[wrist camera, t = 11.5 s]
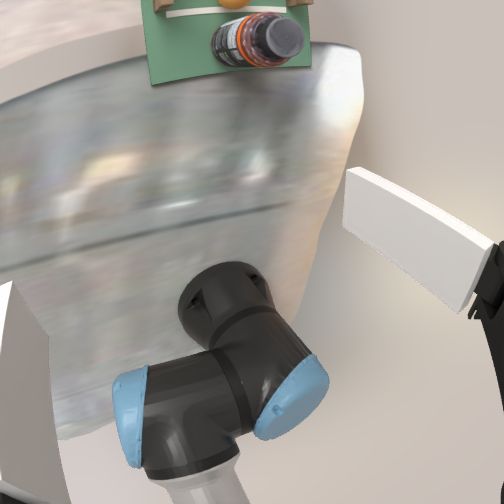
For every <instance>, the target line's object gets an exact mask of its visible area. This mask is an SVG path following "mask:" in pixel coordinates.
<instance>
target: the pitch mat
mask: <svg viewBox="0 0 504 504" xmlns="http://www.w3.org/2000/svg"><path fill="white" fill-rule="evenodd" d="M141 7H142V17H143V26H144V35H145V42H146V51H147V59H148V66H149V73H150V80H151V85H154V84H159V83H163V82H168V81H173V80H178V79H184V78H189V77H195V76H201V75H208V74H214V73H222V72H230V71H238V70H248V69H259V68H272V67H229V66H226V65H224V64H222V63H220V62H219V61H218V60H217V59H216V57H215V56H214V54H213V52H212V49H211V40H212V36H213V34H214V32H215V31H216V30H217V29H218V28H219V27H220V26H221V25H223V24H225V23H227V22H229V21H233V20H236V19H239V18H242V17H245V16H248V15H252V14H256V13H260V12H268V11H269V12H275V13H278V14H280V15H282V16H284V17H288V18H291V19H293V20H295V21H296V22H298V23H299V24H300V26H301V27H302V29H303V31H304V34H305V43H304V47H303V49H302V50H301V52H300V53H299V54H298V55H296V56H294V57H292V58H290V60H288V61H287V62H286V63H284V64H282V65H280V66H277V67H290V66H311V50H310V32H309V16H308V5H304V6H299V7H286V0H251V1H250V2H249V4H247V5H246V6H245V7H243V8H240V9H228V8H225V7H223V6H222V5H220V4H219V2H218V1H217V0H174V4H173V5H171V6H170V7H169V8H168V9H167V10H165V11H161V12H155V13H154V8H153V0H141Z"/></svg>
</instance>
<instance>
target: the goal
mask: <svg viewBox="0 0 504 504" xmlns="http://www.w3.org/2000/svg"><path fill="white" fill-rule="evenodd" d="M173 4H174V0H153V8H154V13H155V12H161V11H165V10H167V9H168V8H169V7H170V6H171V5H173ZM310 4H313V0H286V7H299V6H304V5H310Z"/></svg>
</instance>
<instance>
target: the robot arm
mask: <svg viewBox="0 0 504 504" xmlns="http://www.w3.org/2000/svg"><path fill="white" fill-rule="evenodd" d="M342 227H344V228H345V229H347V230H348V231H350V232H351V233H353V234H354V235H355V236H357V237H358V238H359V239H361V240H362V241H364V242H365V243H366V244H368V245H369V246H371V247H372V248H373V249H375V250H376V251H378V252H379V253H380V254H382V255H383V256H384V257H386V258H387V259H388V260H390V261H391V262H392V263H394V264H395V265H396V266H398V267H399V268H400V269H402V270H403V271H404V272H405V273H407V274H408V275H409V276H411V277H412V278H413V279H415V280H416V281H417V282H418V283H420V284H421V285H422V286H423V287H425V288H426V289H427V290H428V291H430V292H431V293H432V294H433V295H435V296H436V297H438V298H439V299H440V300H441V301H442V302H444V303H445V304H446V305H447V306H448V307H449V308H451V309H452V310H453V311H454V312H456V313H457V314H458V313H459V312H460V311H461V310H462V309H464V308H465V307H466V306H467V304H468V303H469V300H470V298H471V296H472V294H473V292H475V293H476V294H477V297H476V299H475V301H474V303H473V305H472V307H471V309H470V311H469V313H468V319H471V317H472V315H473V314H474V312H475V310H477V312H476V314H475V315H474V319H481V322H482V325H483V328H484V331H485V335H486V338H487V341H488V345H489V348H490V352H491V356H492V360H493V363H494V367H495V372H496V376H497V380H498V385H499V389H500V394H501V399H502V405H503V410H504V241H501V242H500V243H499V246H498V245H496V244H495V243H494V242H493V241H491V240H490V239H488V238H486V237H485V236H484V235H482V234H480V233H479V232H478V231H476V230H474V229H473V228H471V227H470V226H468V225H466V224H465V223H463V222H462V221H460V220H458V219H457V218H455V217H453V216H452V215H450V214H448V213H447V212H445V211H443V210H441V209H440V208H438V207H436V206H434V205H433V204H431V203H429V202H427V201H426V200H424V199H422V198H420V197H418V196H416V195H415V194H413V193H411V192H409V191H407V190H405V189H404V188H402V187H400V186H398V185H396V184H394V183H392V182H390V181H388V180H386V179H384V178H382V177H380V176H378V175H376V174H374V173H372V172H370V171H368V170H365V169H363V168H361V167H355V168H351V169H348V170H346V184H345V198H344V210H343V222H342ZM178 315H179V319H180V321H181V323H182V325H183V327H184V329H185V331H186V332H187V334H188V335H189V336H190V337H191V338H192V339H194V340H195V341H196V342H197V343H198V344H199V345H200V346H202V347H203V348H204V349H205V350H206V351H204V352H200V353H197V354H193V355H190V356H186V357H182V358H179V359H175V360H171V361H168V362H164V363H160V364H156V365H152V366H149V365H145V366H144V367H143V368H139V369H136V370H132V371H129V372H126V373H122V374H120V375H119V376H118V377H117V378H116V379H115V381H114V383H113V388H112V398H113V408H114V414H115V420H116V426H117V430H118V434H119V438H120V442H121V445H122V449H123V451H124V453H125V456H126V460H127V462H128V464H129V465H130V466H131V467H132V468H138V469H140V468H141V467H143V468H144V469H145V472H146V474H147V476H148V479H149V480H150V481H151V482H153V483H155V484H158V485H160V486H162V487H164V488H166V489H167V491H168V493H169V495H170V497H171V499H172V501H173V503H174V504H250V502H249V500H248V498H247V496H246V494H245V492H244V490H243V488H242V486H241V483H240V481H239V479H238V477H237V475H236V472H235V470H234V466H235V464H236V462H237V460H238V457H239V456H240V451H239V448H238V446H237V444H236V441H235V438H237V437H239V436H241V435H244V434H246V433H249V432H251V431H253V432H254V435H255V436H256V437H258V438H259V439H261V440H264V441H266V440H269V439H275V438H277V437H279V436H281V435H283V434H285V433H287V432H288V431H290V430H291V429H293V428H294V427H295V426H297V425H298V424H299V423H301V422H302V421H303V420H304V419H306V418H307V417H308V416H309V415H310V414H311V413H312V412H313V411H314V410H315V408H316V407H317V406H318V405H319V404H320V402H321V401H322V400H323V398H324V397H325V395H326V393H327V391H328V388H329V376H328V374H327V372H326V371H325V369H324V368H323V367H322V365H321V364H320V362H319V361H318V359H317V356H316V355H314V354H312V352H311V351H310V350H309V349H308V348H307V347H306V345H305V344H304V343H303V342H302V341H301V339H300V338H299V337H298V336H297V335H296V333H295V332H294V331H293V330H292V329H291V327H290V326H289V325H288V324H287V323H286V322H285V320H284V319H283V318H282V317H281V316H280V314H279V313H278V312H277V311H276V309H275V306H274V303H273V299H272V296H271V293H270V290H269V287H268V284H267V282H266V280H265V279H264V277H263V276H262V275H261V274H260V273H259V272H258V270H257V269H255V268H254V267H253V266H251V265H249V264H247V263H243V262H225V263H221V264H217V265H215V266H212V267H210V268H208V269H206V270H205V271H203V272H201V273H200V274H199V275H197V276H196V277H195V278H194V279H193V280H192V281H191V282H190V283H189V284H188V285H187V287H186V288H185V290H184V291H183V293H182V295H181V297H180V300H179V304H178ZM0 504H71V501H70V497H69V494H68V490H67V486H66V482H65V478H64V473H63V469H62V464H61V459H60V455H59V448H58V443H57V436H56V430H55V423H54V415H53V406H52V396H51V384H50V368H49V336H48V335H47V333H46V332H45V331H44V329H43V328H42V326H41V325H40V323H39V322H38V321H37V319H36V318H35V316H34V315H33V313H32V311H31V310H30V308H29V307H28V305H27V304H26V302H25V301H24V299H23V297H22V296H21V294H20V292H19V291H18V289H17V287H16V286H15V284H14V282H13V281H10V282H8V283H6V284H3V285H1V286H0ZM501 504H504V483H503V486H502V489H501Z"/></svg>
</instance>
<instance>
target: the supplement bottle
mask: <svg viewBox="0 0 504 504" xmlns="http://www.w3.org/2000/svg"><path fill="white" fill-rule="evenodd" d="M304 43H305V34H304V31H303V29H302V27H301V26H300V24H299V23H298V22H296V21H295V20H293V19H291V18H288V17H284V16H282V15H280V14H278V13H275V12H269V11H268V12H260V13H256V14H252V15H248V16H245V17H242V18H239V19H236V20H233V21H229V22H227V23H225V24H223V25H221V26H220V27H219V28H218V29H217V30H216V31H215V32H214V34H213V36H212V40H211V49H212V52H213V54H214V56H215V57H216V59H217V60H218V61H219V62H220V63H222V64H224V65H226V66H229V67H277V66H280V65H282V64H284V63H286V62H287V61H288V60H290V58H292V57H294V56H296V55H298V54H299V53H300V52H301V50H302V49H303V47H304Z"/></svg>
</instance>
